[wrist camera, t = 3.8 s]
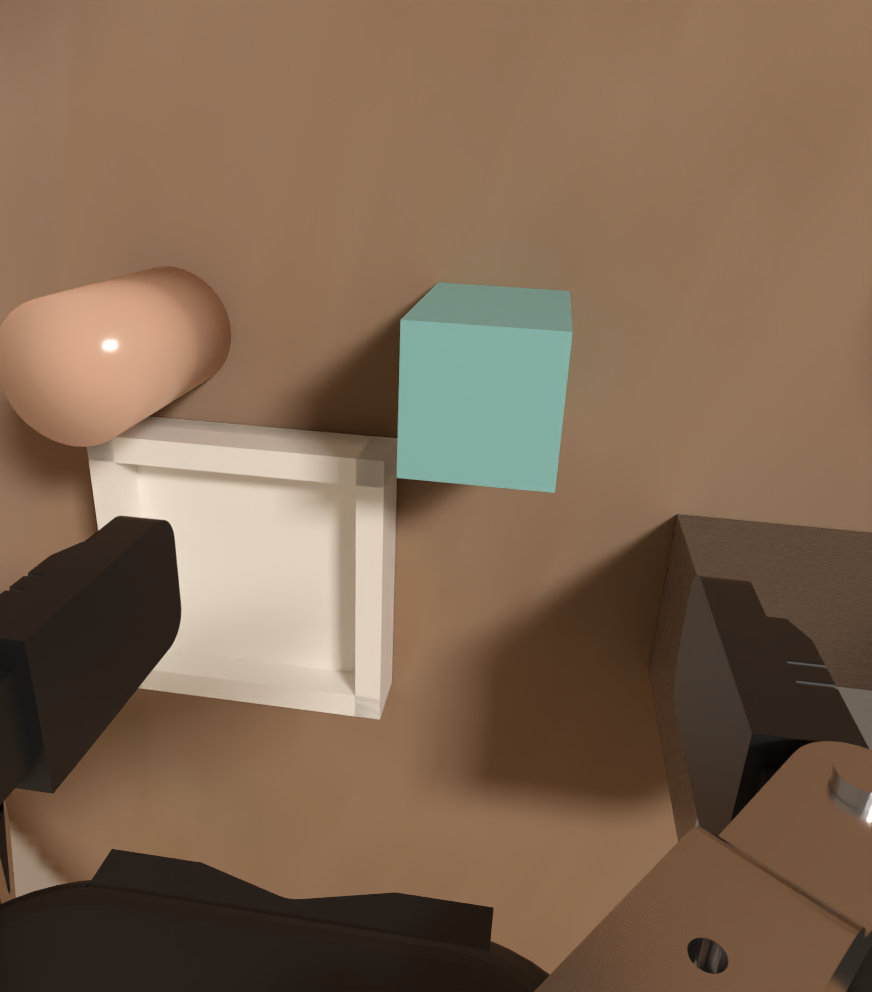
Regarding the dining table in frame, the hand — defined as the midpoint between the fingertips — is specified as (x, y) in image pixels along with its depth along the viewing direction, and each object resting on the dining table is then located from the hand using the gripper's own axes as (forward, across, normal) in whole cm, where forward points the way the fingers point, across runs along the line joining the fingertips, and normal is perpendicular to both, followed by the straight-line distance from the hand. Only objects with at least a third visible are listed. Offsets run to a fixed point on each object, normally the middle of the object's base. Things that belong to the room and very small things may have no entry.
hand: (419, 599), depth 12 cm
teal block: (+17, 0, 0) cm, 17 cm away
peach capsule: (+17, +12, 0) cm, 21 cm away
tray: (+17, +9, +9) cm, 21 cm away
